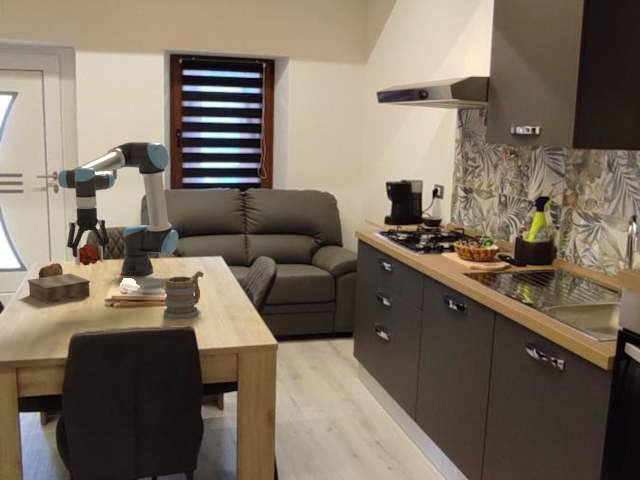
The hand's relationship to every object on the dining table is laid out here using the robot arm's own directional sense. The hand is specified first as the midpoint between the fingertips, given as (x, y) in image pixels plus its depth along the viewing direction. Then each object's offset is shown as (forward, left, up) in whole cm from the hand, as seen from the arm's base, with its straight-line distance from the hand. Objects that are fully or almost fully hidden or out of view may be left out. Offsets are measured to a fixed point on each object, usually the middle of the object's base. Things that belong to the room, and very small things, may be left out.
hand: (89, 263), depth 262 cm
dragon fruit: (0, 0, -1) cm, 1 cm away
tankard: (-25, +33, -18) cm, 45 cm away
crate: (+5, -22, -18) cm, 28 cm away
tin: (0, -47, -18) cm, 50 cm away
